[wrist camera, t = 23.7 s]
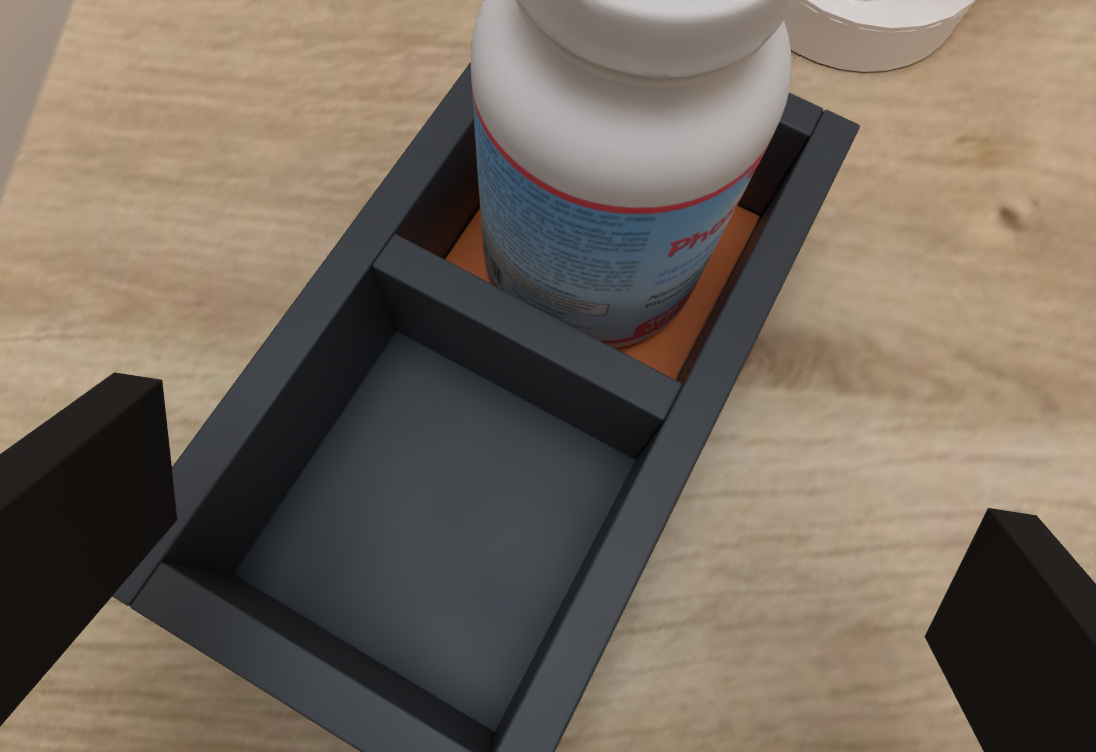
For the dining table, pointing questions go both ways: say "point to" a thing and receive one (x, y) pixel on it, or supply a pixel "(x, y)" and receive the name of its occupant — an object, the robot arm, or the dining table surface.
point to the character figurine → (871, 31)
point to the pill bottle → (619, 147)
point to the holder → (457, 462)
